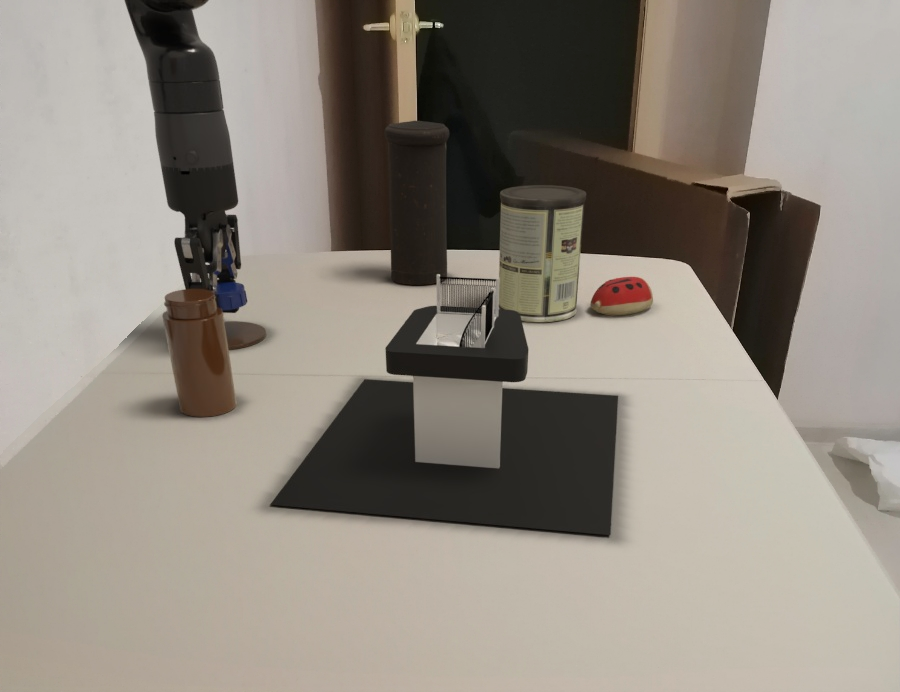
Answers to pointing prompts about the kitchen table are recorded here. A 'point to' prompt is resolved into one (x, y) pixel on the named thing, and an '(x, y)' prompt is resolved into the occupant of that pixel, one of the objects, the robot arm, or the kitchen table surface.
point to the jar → (199, 353)
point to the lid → (231, 295)
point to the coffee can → (540, 251)
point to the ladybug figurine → (622, 296)
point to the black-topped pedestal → (464, 432)
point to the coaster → (243, 334)
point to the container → (417, 201)
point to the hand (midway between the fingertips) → (221, 319)
